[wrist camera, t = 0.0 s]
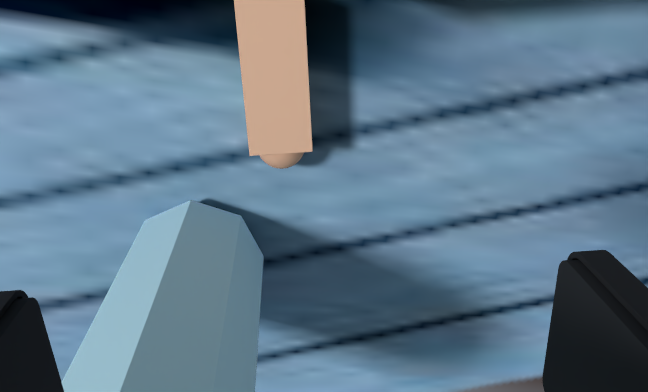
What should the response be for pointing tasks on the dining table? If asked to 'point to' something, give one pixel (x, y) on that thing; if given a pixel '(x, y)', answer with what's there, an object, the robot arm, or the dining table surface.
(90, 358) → the water bottle
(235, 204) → the dining table surface
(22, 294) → the robot arm
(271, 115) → the dome-capped square column
